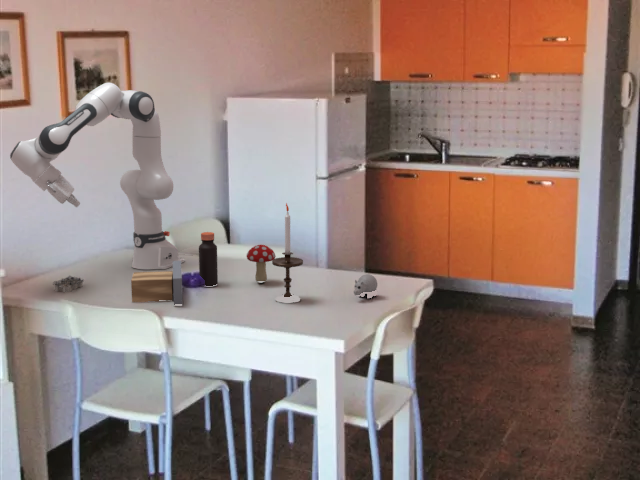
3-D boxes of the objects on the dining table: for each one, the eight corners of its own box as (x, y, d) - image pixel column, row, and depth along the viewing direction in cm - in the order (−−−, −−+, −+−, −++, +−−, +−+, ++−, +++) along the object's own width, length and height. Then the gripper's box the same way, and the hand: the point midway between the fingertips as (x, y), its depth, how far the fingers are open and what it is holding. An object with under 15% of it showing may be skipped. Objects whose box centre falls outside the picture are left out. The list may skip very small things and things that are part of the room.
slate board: (173, 286, 333) (172, 260, 331) (181, 286, 334) (180, 260, 332) (173, 306, 308) (172, 278, 306) (182, 306, 309) (181, 278, 307)
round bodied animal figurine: (345, 300, 317) (345, 277, 315) (364, 293, 326) (364, 270, 324) (362, 304, 313) (362, 280, 311) (381, 296, 322) (381, 274, 320)
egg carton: (67, 293, 325) (66, 282, 324) (50, 291, 328) (50, 280, 327) (86, 286, 334) (85, 275, 334) (70, 284, 337) (69, 273, 337)
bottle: (195, 285, 336) (194, 233, 332) (209, 282, 341) (208, 230, 336) (207, 288, 331) (206, 236, 327) (221, 285, 336) (220, 233, 332)
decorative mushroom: (258, 288, 332) (258, 249, 328) (240, 282, 340) (240, 244, 336) (281, 283, 339) (281, 245, 335) (263, 278, 347) (263, 240, 344)
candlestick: (268, 297, 320) (267, 201, 312) (296, 294, 324) (296, 199, 317) (278, 305, 310) (278, 206, 303) (307, 302, 314) (308, 204, 307)
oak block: (134, 293, 325) (133, 272, 324) (173, 292, 327) (172, 271, 325) (132, 302, 314) (131, 280, 312) (172, 301, 315) (171, 279, 314)
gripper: (51, 176, 309) (82, 204, 313) (58, 169, 329) (87, 194, 333) (38, 189, 310) (69, 216, 313) (46, 181, 329) (75, 206, 333)
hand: (78, 205), depth 323 cm, fingers closed
